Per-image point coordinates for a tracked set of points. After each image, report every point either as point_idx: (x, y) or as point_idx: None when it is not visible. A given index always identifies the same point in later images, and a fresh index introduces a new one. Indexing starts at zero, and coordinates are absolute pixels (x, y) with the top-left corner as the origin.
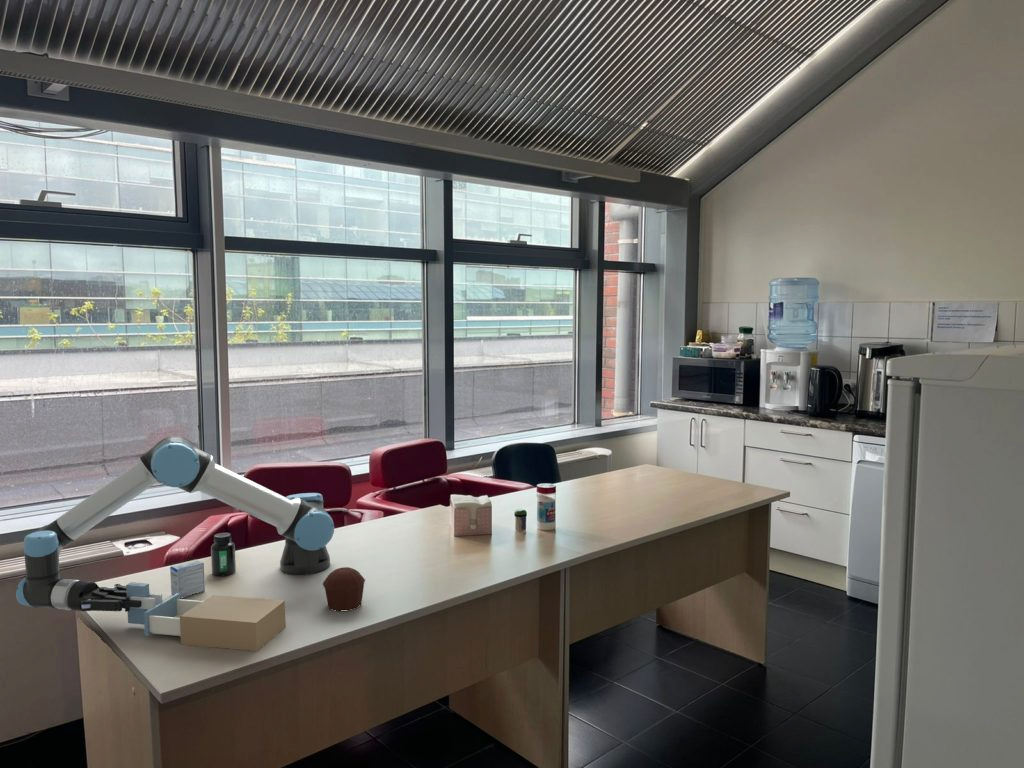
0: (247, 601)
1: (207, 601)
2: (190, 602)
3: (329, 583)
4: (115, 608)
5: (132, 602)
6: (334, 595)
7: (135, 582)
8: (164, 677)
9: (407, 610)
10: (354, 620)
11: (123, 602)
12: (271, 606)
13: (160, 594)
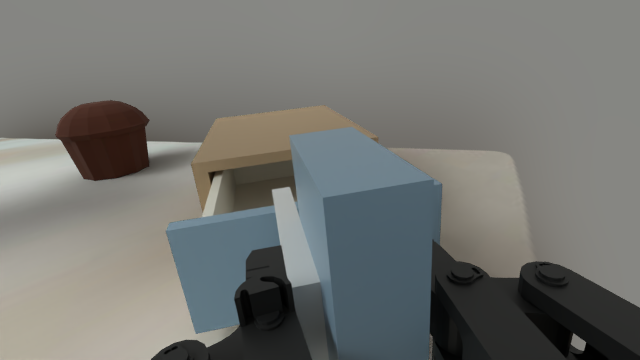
0: (232, 129)
1: (252, 150)
2: (216, 212)
3: (131, 117)
4: (584, 350)
5: (435, 247)
6: (143, 136)
7: (310, 177)
8: (492, 167)
9: (151, 142)
10: (188, 150)
11: (502, 279)
12: (249, 116)
13: (279, 190)
